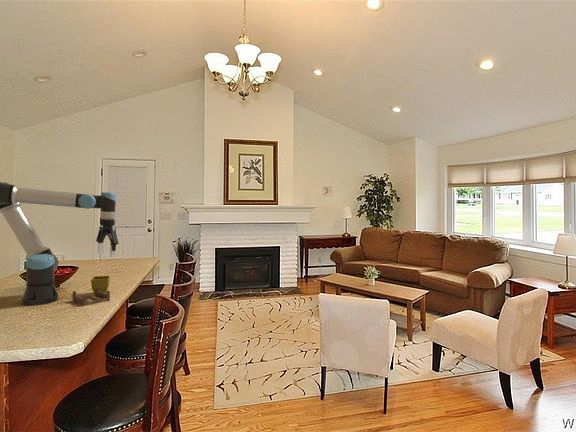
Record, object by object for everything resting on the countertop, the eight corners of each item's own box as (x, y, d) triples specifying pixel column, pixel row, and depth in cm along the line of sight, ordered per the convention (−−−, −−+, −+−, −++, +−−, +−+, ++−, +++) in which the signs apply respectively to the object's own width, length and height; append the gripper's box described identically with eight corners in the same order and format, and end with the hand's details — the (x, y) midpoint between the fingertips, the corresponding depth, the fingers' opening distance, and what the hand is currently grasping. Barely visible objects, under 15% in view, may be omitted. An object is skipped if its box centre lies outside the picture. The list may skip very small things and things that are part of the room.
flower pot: (108, 294, 192) (108, 278, 191) (90, 295, 188) (90, 279, 188) (110, 291, 200) (110, 275, 199) (93, 292, 196) (93, 276, 196)
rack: (83, 305, 170) (83, 295, 170) (72, 301, 178) (72, 291, 177) (109, 300, 180) (109, 291, 180) (98, 296, 188) (98, 287, 188)
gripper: (125, 220, 197) (124, 256, 197) (103, 217, 211) (102, 252, 212) (112, 220, 191) (111, 258, 191) (90, 217, 205) (89, 253, 205)
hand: (106, 255), depth 201 cm, fingers open, 13 cm apart
